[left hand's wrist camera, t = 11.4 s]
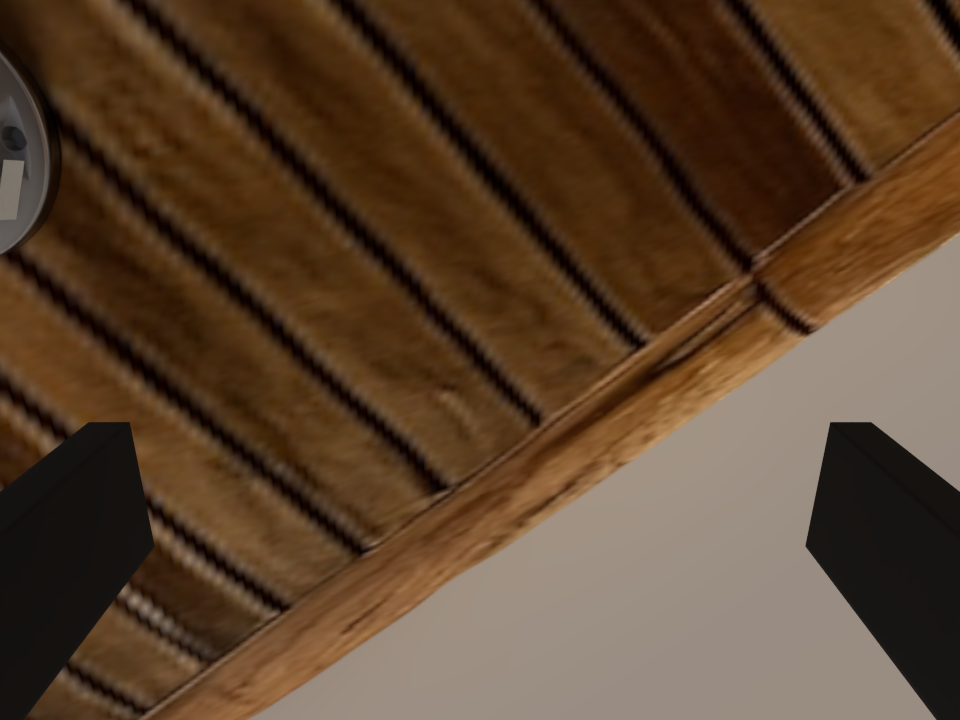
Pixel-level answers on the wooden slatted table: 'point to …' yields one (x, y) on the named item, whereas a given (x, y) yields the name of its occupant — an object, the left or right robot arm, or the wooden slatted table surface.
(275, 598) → the wooden slatted table surface
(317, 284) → the wooden slatted table surface
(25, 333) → the wooden slatted table surface
